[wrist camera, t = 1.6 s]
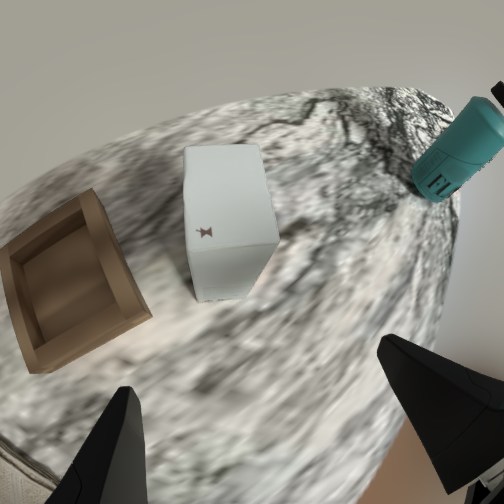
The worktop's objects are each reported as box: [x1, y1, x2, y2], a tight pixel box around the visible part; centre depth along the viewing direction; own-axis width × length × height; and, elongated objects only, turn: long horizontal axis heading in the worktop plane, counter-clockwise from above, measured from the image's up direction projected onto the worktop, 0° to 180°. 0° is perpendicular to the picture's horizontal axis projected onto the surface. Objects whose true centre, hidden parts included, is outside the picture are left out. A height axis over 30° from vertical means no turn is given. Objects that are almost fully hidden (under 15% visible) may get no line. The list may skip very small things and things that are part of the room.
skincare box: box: [183, 144, 280, 303], centre depth 18 cm, size 6×4×12 cm
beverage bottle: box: [411, 81, 504, 203], centre depth 22 cm, size 6×7×20 cm
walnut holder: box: [0, 188, 153, 374], centre depth 19 cm, size 12×12×4 cm
